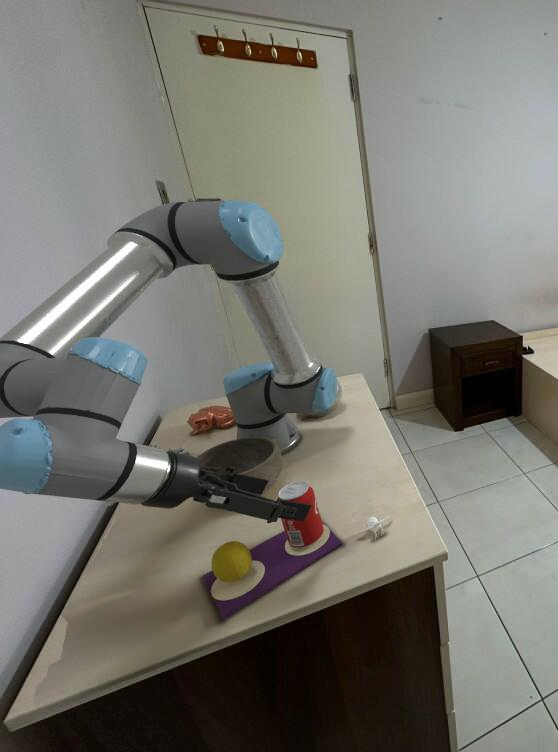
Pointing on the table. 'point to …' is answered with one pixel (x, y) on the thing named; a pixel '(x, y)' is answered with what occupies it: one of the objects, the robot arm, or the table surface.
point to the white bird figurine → (373, 525)
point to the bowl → (247, 458)
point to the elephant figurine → (177, 450)
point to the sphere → (336, 402)
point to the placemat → (268, 570)
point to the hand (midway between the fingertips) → (284, 499)
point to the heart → (211, 418)
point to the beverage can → (312, 527)
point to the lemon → (231, 561)
